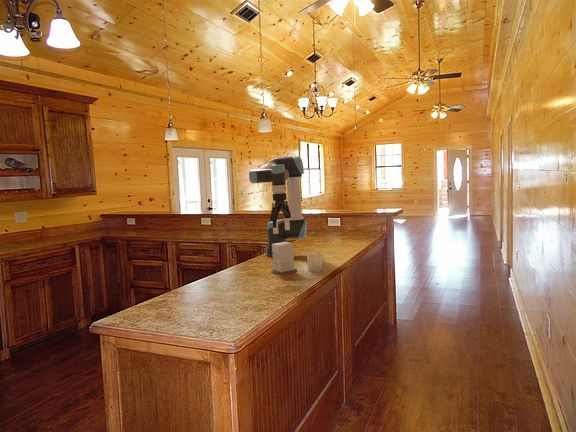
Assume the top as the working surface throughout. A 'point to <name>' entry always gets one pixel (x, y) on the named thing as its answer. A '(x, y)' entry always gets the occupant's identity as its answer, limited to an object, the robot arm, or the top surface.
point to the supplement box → (283, 256)
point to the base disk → (283, 272)
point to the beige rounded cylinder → (314, 262)
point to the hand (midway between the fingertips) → (281, 231)
